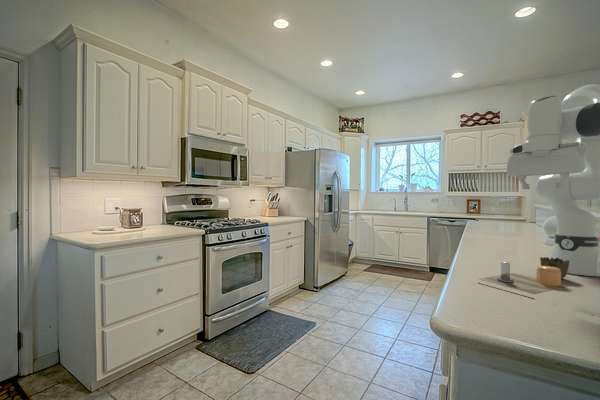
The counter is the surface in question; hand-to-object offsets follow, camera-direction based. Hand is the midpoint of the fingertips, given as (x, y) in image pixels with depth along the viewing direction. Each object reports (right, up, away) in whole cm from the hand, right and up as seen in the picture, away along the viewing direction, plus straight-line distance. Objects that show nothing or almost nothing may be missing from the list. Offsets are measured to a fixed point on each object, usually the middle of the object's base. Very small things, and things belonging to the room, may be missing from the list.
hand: (542, 188), depth 93 cm
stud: (-13, -30, -1) cm, 32 cm away
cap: (-1, -30, -3) cm, 30 cm away
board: (-8, -31, -2) cm, 32 cm away
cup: (+7, -32, +4) cm, 33 cm away
